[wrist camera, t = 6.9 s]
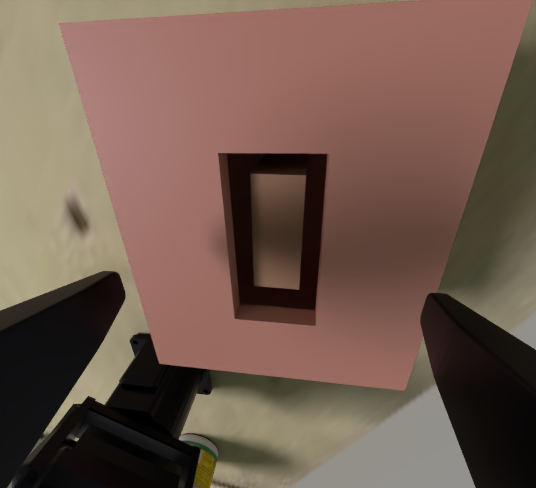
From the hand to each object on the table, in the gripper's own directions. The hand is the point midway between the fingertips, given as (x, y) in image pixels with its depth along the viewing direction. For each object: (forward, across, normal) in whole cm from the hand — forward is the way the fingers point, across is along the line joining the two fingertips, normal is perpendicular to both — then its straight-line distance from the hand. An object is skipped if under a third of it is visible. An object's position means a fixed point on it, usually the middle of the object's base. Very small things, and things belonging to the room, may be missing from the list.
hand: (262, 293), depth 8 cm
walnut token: (+8, 0, 0) cm, 9 cm away
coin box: (+10, 0, 0) cm, 10 cm away
